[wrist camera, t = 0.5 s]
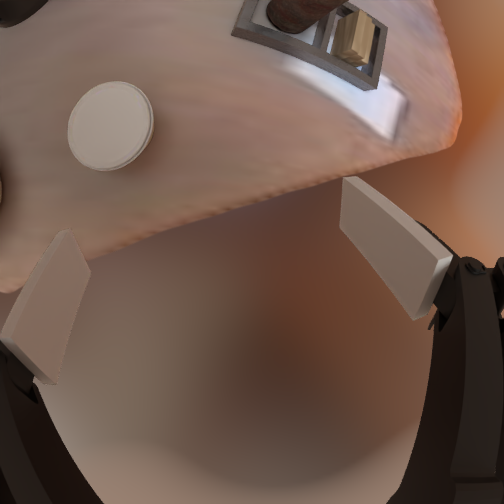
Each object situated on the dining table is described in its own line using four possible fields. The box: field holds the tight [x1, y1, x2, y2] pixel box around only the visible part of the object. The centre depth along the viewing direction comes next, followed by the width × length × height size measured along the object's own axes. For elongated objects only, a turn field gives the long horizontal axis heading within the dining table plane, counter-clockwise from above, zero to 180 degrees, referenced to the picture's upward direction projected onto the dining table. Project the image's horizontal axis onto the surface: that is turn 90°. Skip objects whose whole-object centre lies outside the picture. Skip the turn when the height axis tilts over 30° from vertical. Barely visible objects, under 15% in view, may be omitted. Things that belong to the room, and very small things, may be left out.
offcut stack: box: [330, 9, 375, 67], centre depth 30 cm, size 4×9×6 cm, turn 165°
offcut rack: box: [231, 0, 388, 91], centre depth 29 cm, size 24×14×4 cm, turn 75°
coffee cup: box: [67, 81, 154, 171], centre depth 26 cm, size 9×9×12 cm
